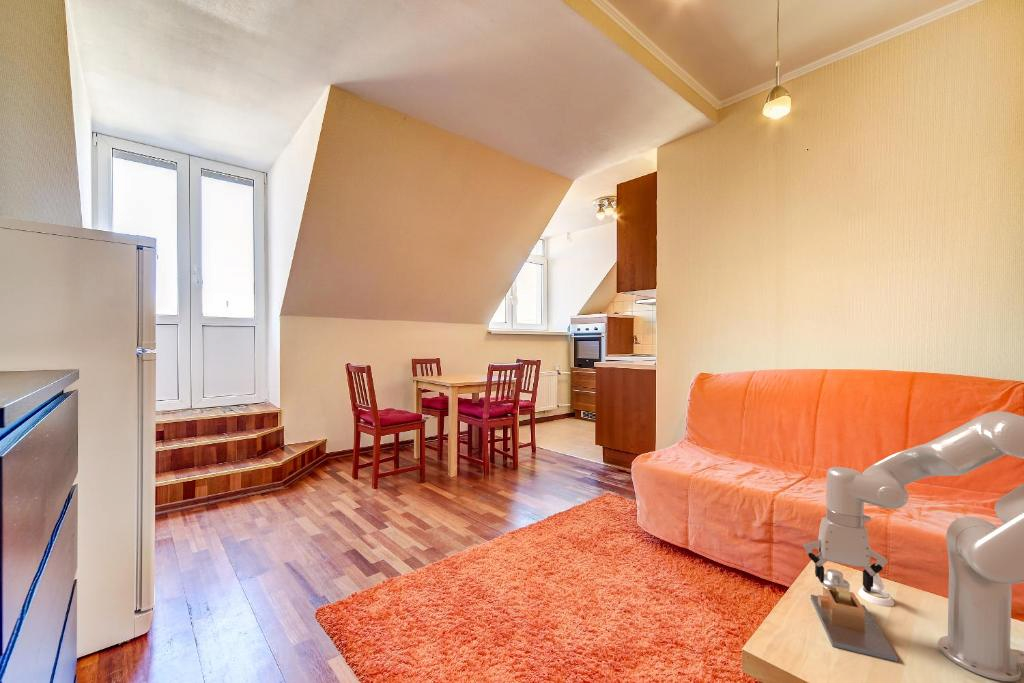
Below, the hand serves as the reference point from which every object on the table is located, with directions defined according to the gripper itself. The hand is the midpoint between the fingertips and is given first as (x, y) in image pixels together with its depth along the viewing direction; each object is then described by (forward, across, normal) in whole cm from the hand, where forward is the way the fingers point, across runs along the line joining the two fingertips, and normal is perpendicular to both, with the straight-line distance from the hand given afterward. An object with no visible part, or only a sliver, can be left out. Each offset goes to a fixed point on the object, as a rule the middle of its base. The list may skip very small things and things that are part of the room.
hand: (843, 584), depth 109 cm
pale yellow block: (+9, 0, 0) cm, 9 cm away
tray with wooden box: (+10, -1, +2) cm, 10 cm away
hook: (+10, -12, -16) cm, 23 cm away
